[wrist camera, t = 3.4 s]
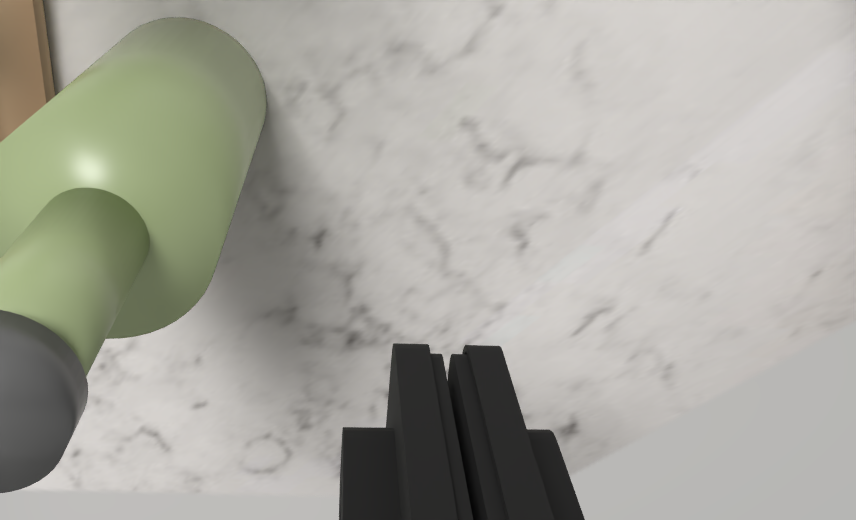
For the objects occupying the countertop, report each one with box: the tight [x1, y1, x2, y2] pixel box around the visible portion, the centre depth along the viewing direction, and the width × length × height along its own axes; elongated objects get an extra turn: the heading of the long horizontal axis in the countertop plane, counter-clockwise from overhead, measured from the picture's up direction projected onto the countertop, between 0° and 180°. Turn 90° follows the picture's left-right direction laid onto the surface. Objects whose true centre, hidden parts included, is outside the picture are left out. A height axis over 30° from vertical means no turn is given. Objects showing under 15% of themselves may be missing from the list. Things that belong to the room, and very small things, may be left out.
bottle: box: [0, 17, 267, 493], centre depth 18 cm, size 5×5×16 cm
